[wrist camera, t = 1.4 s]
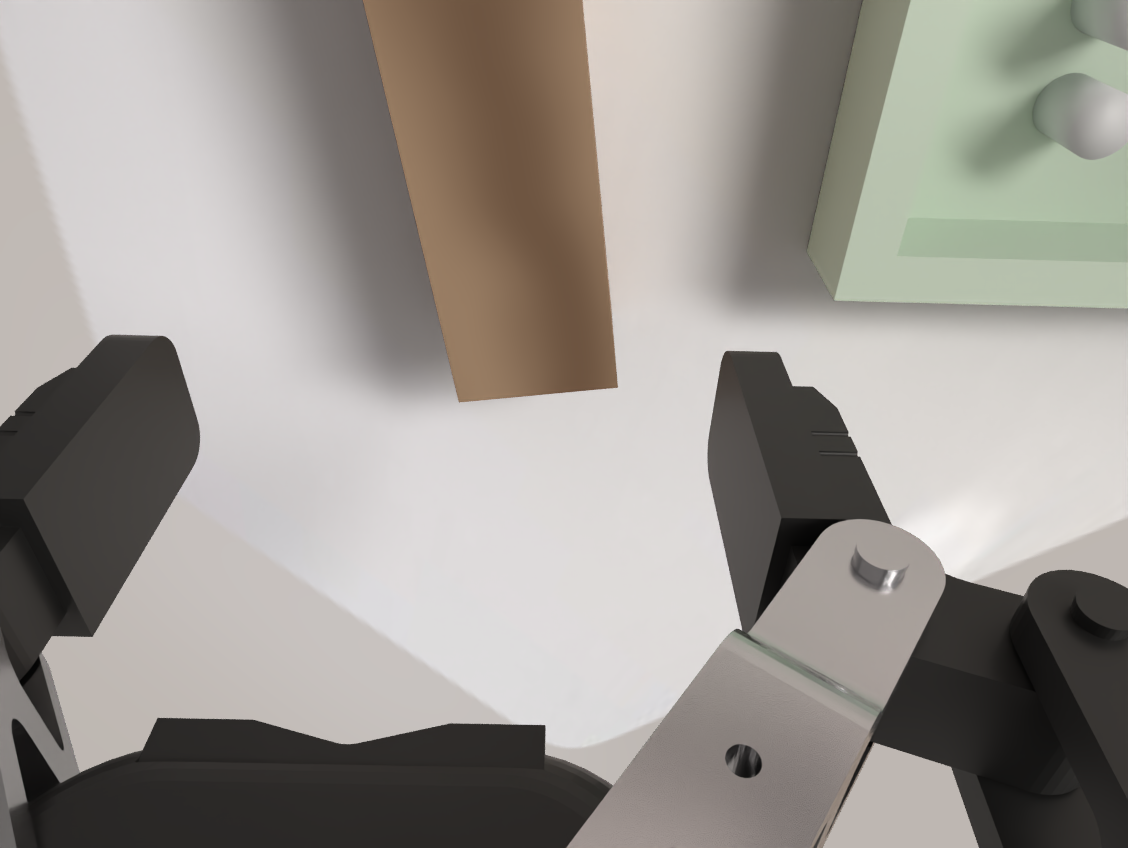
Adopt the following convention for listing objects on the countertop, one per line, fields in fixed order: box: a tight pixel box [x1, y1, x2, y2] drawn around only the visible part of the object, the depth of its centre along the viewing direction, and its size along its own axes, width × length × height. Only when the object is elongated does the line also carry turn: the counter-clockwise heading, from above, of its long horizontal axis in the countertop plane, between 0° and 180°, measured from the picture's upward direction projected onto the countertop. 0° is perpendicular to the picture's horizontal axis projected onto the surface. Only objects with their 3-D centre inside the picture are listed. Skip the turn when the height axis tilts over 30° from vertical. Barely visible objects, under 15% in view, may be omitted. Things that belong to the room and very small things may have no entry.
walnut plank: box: [363, 0, 618, 402], centre depth 23 cm, size 5×15×5 cm, turn 7°
